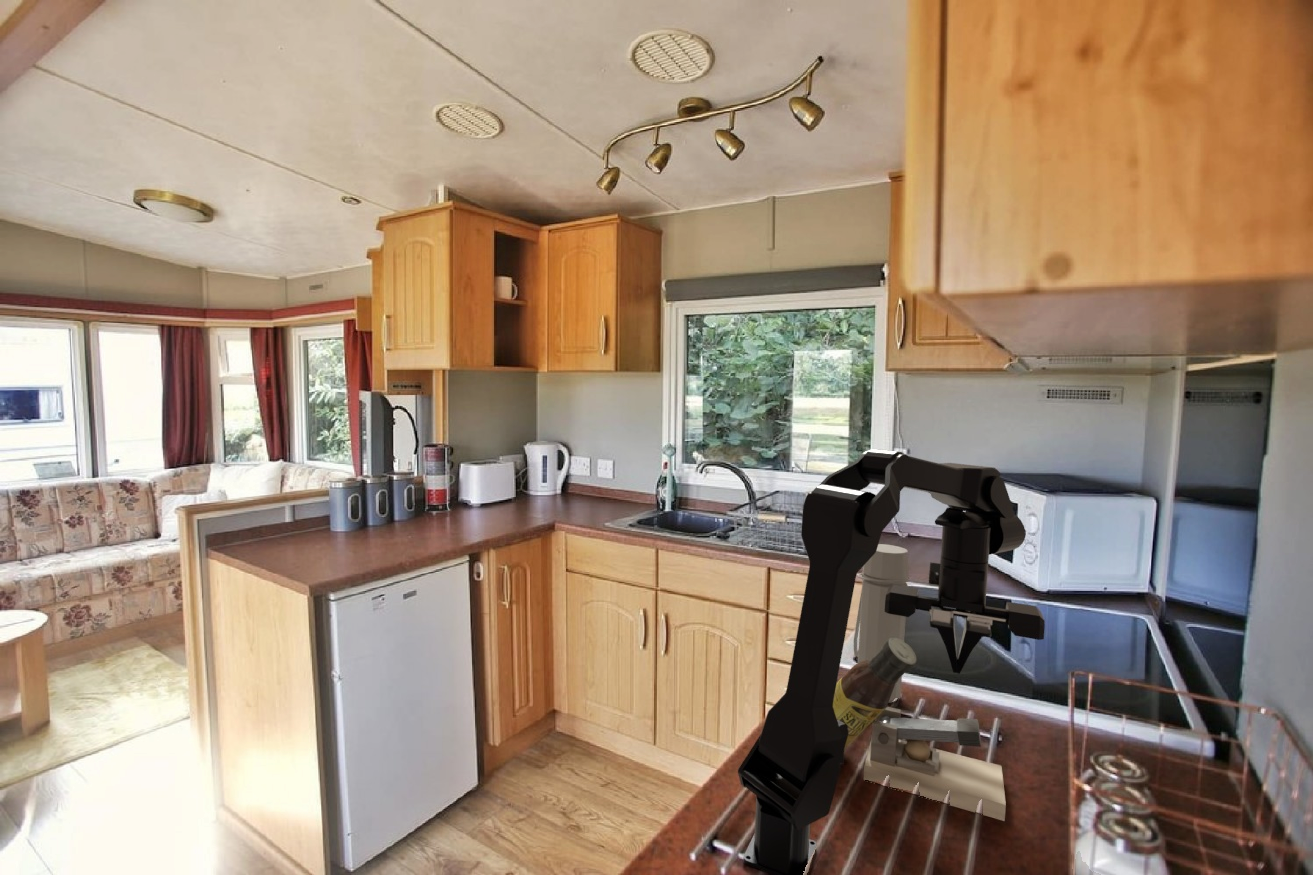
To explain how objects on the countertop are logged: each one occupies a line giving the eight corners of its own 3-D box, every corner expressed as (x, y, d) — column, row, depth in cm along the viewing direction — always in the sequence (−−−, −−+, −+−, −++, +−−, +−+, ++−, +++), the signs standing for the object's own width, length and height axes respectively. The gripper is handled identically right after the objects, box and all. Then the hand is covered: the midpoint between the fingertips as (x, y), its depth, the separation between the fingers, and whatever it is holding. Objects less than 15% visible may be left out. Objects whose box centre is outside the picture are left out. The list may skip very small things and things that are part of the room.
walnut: (928, 770, 79) (930, 747, 79) (903, 763, 81) (905, 741, 81) (929, 758, 82) (931, 736, 82) (905, 752, 83) (906, 730, 83)
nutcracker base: (1004, 821, 73) (1008, 763, 73) (863, 779, 80) (866, 727, 80) (1000, 780, 81) (1004, 728, 81) (872, 746, 88) (875, 698, 88)
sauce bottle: (812, 760, 83) (893, 672, 74) (794, 716, 88) (867, 628, 78) (850, 758, 86) (933, 673, 76) (830, 716, 91) (906, 630, 81)
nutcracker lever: (980, 746, 76) (978, 732, 76) (878, 739, 82) (876, 726, 82) (980, 733, 80) (977, 719, 80) (881, 727, 85) (879, 714, 85)
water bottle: (911, 700, 103) (921, 551, 101) (878, 710, 99) (888, 556, 97) (868, 677, 111) (876, 539, 109) (836, 685, 107) (844, 543, 105)
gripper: (1039, 555, 86) (1030, 665, 87) (895, 538, 94) (889, 638, 95) (1049, 574, 76) (1039, 698, 77) (887, 553, 84) (880, 665, 85)
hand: (956, 672), depth 84 cm, fingers closed
